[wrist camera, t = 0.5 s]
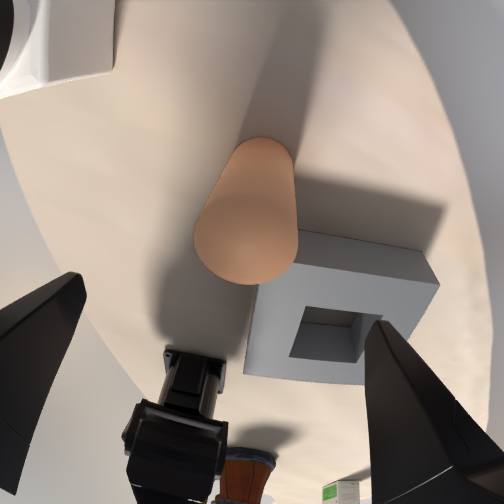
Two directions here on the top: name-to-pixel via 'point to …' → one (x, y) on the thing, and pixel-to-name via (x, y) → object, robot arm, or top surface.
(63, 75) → the medicine bottle
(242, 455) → the mug
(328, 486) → the skincare box
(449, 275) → the top surface
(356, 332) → the socket block
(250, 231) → the peg
